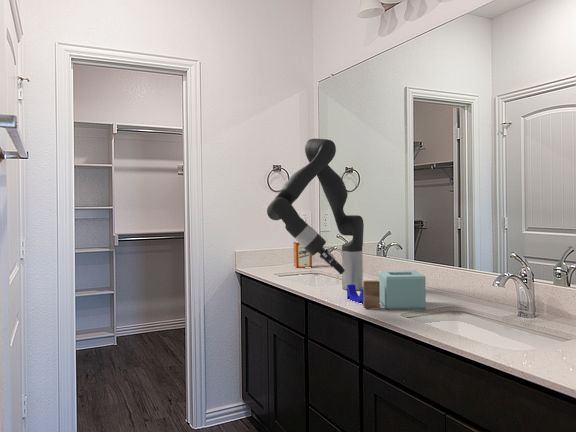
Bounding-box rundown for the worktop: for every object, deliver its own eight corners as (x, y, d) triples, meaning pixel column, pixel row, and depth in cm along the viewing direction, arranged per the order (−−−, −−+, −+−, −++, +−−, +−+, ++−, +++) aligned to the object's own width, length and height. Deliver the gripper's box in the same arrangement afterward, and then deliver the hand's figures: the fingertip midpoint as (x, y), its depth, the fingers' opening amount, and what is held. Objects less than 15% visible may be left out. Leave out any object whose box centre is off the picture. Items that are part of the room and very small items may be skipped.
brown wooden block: (363, 307, 167) (363, 280, 167) (378, 307, 167) (378, 280, 167) (364, 309, 164) (364, 281, 164) (379, 309, 164) (379, 281, 164)
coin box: (379, 301, 176) (379, 271, 176) (415, 301, 176) (414, 270, 176) (386, 309, 162) (386, 276, 162) (425, 309, 162) (425, 276, 162)
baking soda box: (308, 266, 278) (308, 240, 278) (311, 268, 272) (311, 241, 271) (293, 267, 276) (293, 241, 275) (296, 268, 269) (296, 242, 269)
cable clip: (372, 304, 172) (372, 289, 172) (362, 305, 171) (362, 289, 170) (356, 298, 183) (356, 283, 183) (347, 299, 182) (347, 284, 182)
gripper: (318, 234, 158) (351, 266, 158) (316, 231, 172) (346, 261, 172) (303, 249, 158) (336, 281, 158) (302, 245, 172) (333, 275, 173)
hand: (341, 270), depth 165 cm, fingers open, 8 cm apart
